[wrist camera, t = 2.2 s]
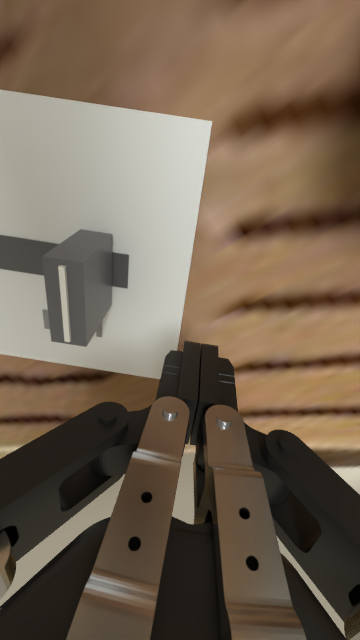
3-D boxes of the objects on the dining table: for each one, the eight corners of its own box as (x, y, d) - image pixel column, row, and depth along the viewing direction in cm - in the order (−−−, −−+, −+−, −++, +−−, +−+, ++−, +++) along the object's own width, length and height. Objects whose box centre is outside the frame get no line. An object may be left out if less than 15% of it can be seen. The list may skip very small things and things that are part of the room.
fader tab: (80, 229, 19) (39, 257, 14) (112, 234, 19) (81, 264, 14) (83, 300, 21) (49, 343, 17) (111, 304, 21) (85, 349, 17)
